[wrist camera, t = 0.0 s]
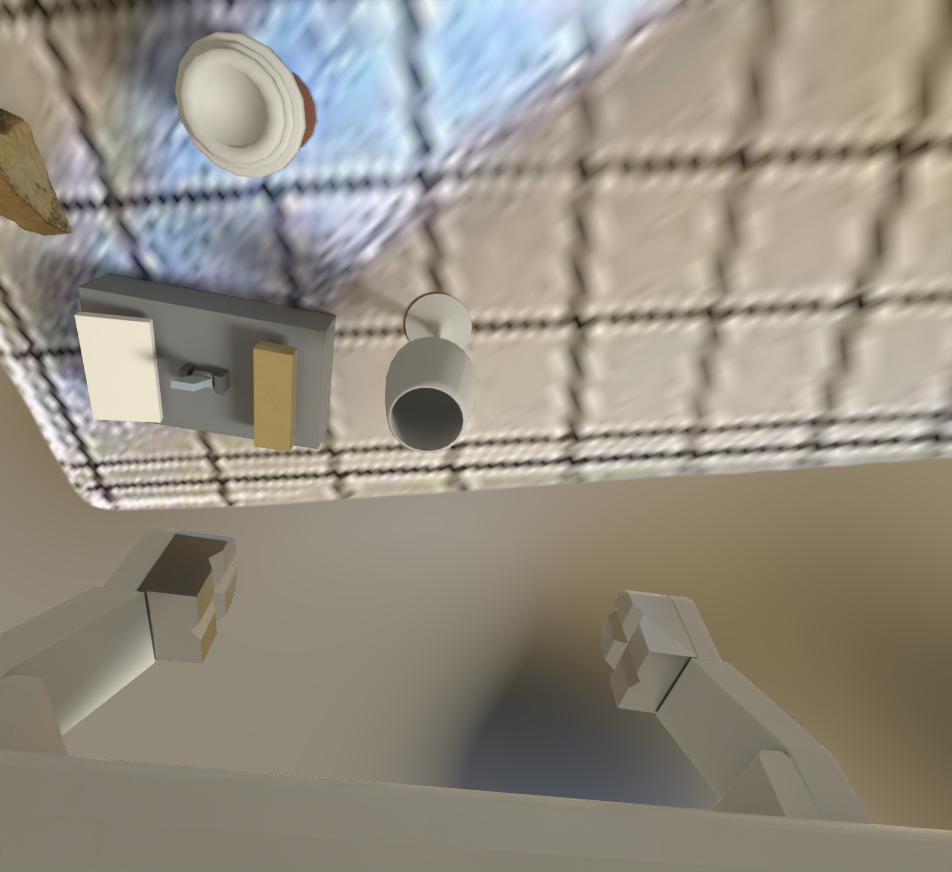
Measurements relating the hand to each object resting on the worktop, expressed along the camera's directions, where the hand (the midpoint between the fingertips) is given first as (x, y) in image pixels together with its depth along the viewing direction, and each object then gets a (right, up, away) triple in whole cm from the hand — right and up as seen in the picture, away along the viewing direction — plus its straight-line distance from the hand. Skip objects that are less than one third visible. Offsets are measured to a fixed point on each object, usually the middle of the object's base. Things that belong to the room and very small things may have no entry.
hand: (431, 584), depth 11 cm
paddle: (-27, +9, +43) cm, 51 cm away
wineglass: (-3, +15, +47) cm, 50 cm away
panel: (-27, +12, +48) cm, 56 cm away
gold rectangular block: (-19, +7, +43) cm, 48 cm away
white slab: (-34, +10, +42) cm, 55 cm away
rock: (-41, +28, +39) cm, 63 cm away
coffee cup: (-16, +32, +37) cm, 51 cm away
